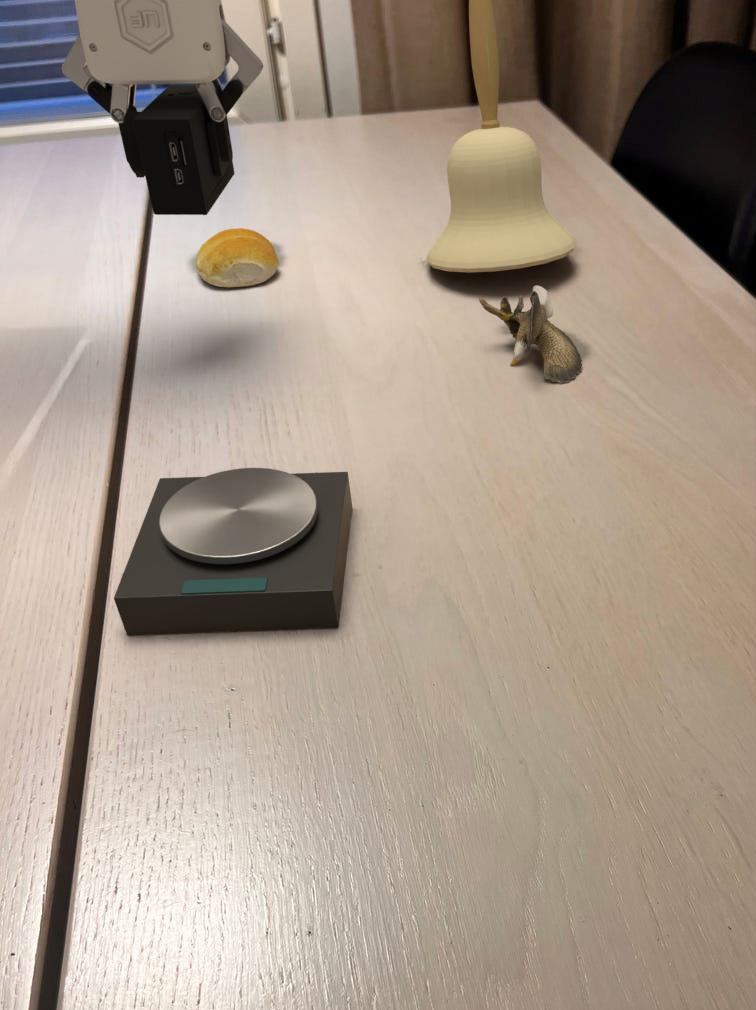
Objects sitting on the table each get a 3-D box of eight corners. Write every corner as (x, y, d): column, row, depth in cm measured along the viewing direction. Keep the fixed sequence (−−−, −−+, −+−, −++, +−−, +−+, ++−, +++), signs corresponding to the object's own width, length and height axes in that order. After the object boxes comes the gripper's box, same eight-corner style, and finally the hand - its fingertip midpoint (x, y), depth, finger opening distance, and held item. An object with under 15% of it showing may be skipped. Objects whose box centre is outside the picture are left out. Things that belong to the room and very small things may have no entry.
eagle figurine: (460, 343, 86) (513, 365, 79) (491, 263, 84) (548, 278, 78) (526, 372, 91) (582, 395, 84) (557, 296, 89) (616, 313, 82)
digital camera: (172, 174, 85) (154, 83, 80) (235, 174, 85) (220, 83, 80) (138, 215, 77) (115, 118, 73) (206, 215, 77) (188, 117, 73)
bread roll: (272, 252, 106) (266, 214, 104) (284, 283, 100) (278, 243, 97) (195, 261, 105) (186, 223, 102) (201, 294, 98) (193, 254, 96)
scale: (126, 635, 60) (112, 596, 58) (169, 513, 70) (159, 476, 68) (338, 628, 60) (332, 588, 58) (352, 507, 70) (347, 469, 68)
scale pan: (147, 572, 60) (142, 559, 59) (179, 482, 67) (176, 469, 67) (310, 567, 60) (308, 553, 59) (325, 477, 68) (323, 464, 67)
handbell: (461, 296, 93) (428, -20, 80) (407, 271, 105) (371, -8, 92) (604, 267, 98) (595, -37, 84) (536, 246, 110) (519, -23, 96)
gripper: (-15, -101, 65) (63, 188, 77) (247, -102, 65) (283, 185, 77) (21, -112, 71) (88, 159, 83) (261, -113, 71) (293, 157, 83)
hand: (182, 169), depth 80 cm, fingers closed on digital camera, 5 cm apart
